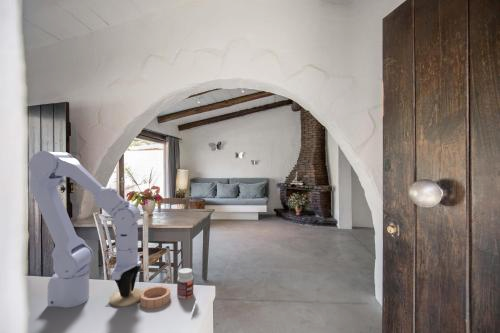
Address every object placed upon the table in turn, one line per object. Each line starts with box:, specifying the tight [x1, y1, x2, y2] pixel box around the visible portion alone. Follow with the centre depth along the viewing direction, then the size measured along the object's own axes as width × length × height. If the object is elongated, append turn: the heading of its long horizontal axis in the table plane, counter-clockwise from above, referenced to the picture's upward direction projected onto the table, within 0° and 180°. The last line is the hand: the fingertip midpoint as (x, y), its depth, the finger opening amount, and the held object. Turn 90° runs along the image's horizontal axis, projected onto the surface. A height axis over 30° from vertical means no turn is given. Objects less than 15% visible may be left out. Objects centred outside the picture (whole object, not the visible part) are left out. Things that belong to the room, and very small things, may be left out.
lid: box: [108, 287, 143, 308], centre depth 78 cm, size 9×9×5 cm
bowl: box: [139, 285, 171, 309], centre depth 77 cm, size 8×8×3 cm
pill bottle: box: [176, 267, 195, 300], centre depth 80 cm, size 5×5×8 cm
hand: (127, 293), depth 78 cm, fingers closed on lid, 2 cm apart
